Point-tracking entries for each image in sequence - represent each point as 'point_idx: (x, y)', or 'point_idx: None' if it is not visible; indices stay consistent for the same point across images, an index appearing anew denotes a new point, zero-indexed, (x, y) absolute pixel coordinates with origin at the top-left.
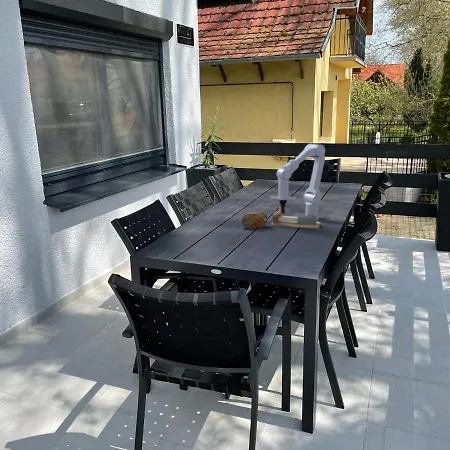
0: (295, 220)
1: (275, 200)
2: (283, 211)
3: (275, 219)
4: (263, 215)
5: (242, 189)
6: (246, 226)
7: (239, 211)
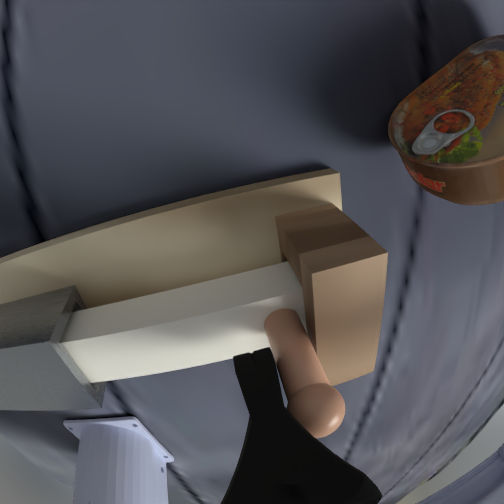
0: (93, 318)
1: (455, 481)
2: (249, 373)
3: (320, 231)
4: (483, 148)
5: (433, 473)
6: (492, 45)
7: (491, 361)
